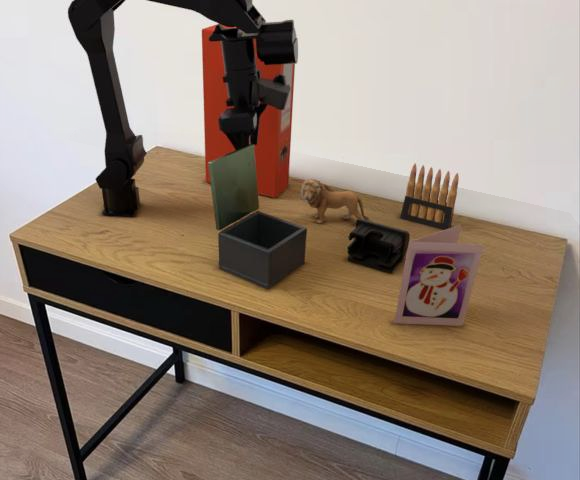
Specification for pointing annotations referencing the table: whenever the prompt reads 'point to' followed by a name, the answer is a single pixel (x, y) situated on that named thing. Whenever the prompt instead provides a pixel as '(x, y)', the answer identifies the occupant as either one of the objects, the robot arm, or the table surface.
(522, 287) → the table surface
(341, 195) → the lion figurine
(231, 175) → the lid
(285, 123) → the file binder
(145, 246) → the table surface
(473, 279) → the greeting card
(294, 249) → the bin
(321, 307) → the table surface
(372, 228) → the end cap
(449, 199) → the ammunition clip
